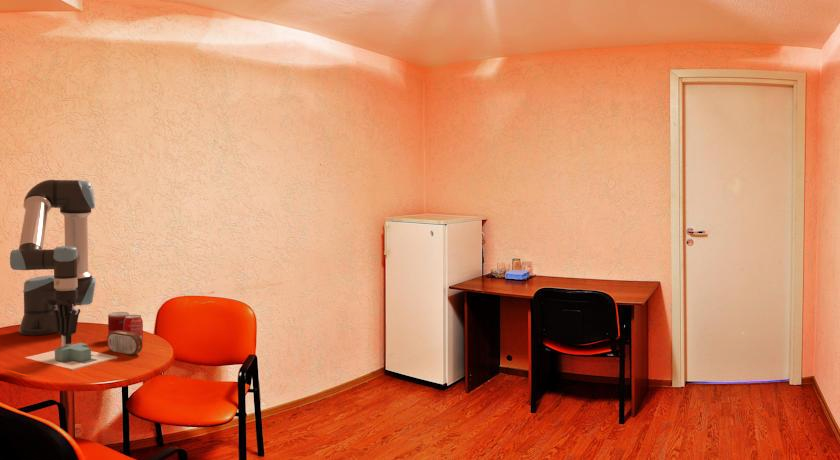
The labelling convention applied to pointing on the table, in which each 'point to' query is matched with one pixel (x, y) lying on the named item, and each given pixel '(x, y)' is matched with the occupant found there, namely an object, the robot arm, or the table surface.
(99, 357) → the mat
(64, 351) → the t block
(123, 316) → the canned food
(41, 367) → the table surface
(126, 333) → the tin
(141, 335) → the soda can
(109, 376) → the table surface
